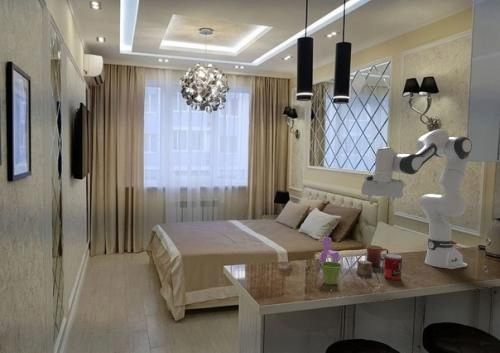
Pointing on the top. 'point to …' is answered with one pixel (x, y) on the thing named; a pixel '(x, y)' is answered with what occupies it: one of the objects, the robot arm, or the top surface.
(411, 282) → the top surface
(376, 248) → the mug
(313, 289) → the top surface
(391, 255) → the canned food
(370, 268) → the walnut block
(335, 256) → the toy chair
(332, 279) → the plant pot
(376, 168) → the robot arm
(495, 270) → the top surface
